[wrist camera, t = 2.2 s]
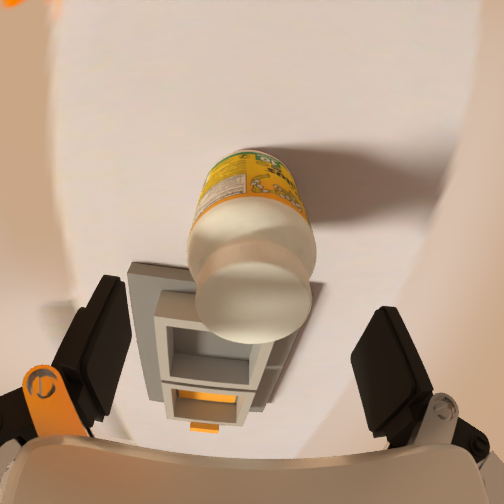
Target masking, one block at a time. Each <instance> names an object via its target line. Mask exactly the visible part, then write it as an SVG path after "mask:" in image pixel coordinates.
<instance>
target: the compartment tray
mask: <svg viewBox="0 0 504 504" xmlns="http://www.w3.org/2000/svg"><path fill="white" fill-rule="evenodd" d="M127 276H128V285H129V293H130V300H131V307H132V314H133V320H134V326H135V332H136V338H137V344H138V349H139V354H140V359H141V364H142V369H143V374H144V378H145V383H146V387H147V392H148V396H149V400H152V401H158V402H164V403H165V410H166V415H167V419H173V420H181V421H188V422H191V424H190V431H198V432H207V433H218V431H219V425H228V426H243V424H244V422H245V419H246V417H247V414H248V412H263V410H264V408H265V406H266V404H267V401H268V399H269V397H270V395H271V393H272V391H273V388H274V386H275V384H276V382H277V380H278V377H279V375H280V373H281V371H282V368H283V366H284V364H285V362H286V359H287V357H288V355H289V352H290V350H291V348H292V345H293V343H294V341H295V338H296V336H297V333H298V331H299V329H300V327H299V328H298V329H297V330H296V331H294V332H293V333H291V334H290V335H288V336H286V337H284V338H282V339H279V340H276V341H272V342H268V343H260V344H244V343H238V342H233V341H229V340H226V339H224V338H221V337H219V336H217V335H216V334H214V333H212V332H211V331H210V330H209V329H208V328H206V326H205V325H204V324H203V323H202V322H201V320H200V318H199V316H198V314H197V311H196V307H195V297H196V290H197V284H196V282H195V281H194V279H193V277H192V275H191V273H190V270H185V269H177V268H170V267H162V266H155V265H148V264H140V263H133V262H132V263H131V265H130V268H129V270H128V272H127ZM310 289H311V285H310ZM311 295H312V296H313V294H312V289H311Z"/></svg>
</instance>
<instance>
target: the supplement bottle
mask: <svg viewBox="0 0 504 504" xmlns="http://www.w3.org/2000/svg"><path fill="white" fill-rule="evenodd" d="M186 252H187V263H188V267H189V270H190V273H191V275H192V277H193V279H194V281H195V282H196V284H197V290H196V297H195V307H196V311H197V314H198V316H199V318H200V320H201V322H202V323H203V324H204V325H205V326H206V328H208V329H209V330H210V331H211V332H212V333H214V334H216V335H217V336H219V337H221V338H224V339H226V340H229V341H233V342H238V343H244V344H260V343H268V342H272V341H276V340H279V339H282V338H284V337H286V336H288V335H290V334H291V333H293V332H294V331H296V330H297V329H298V328H299V327H300V326H301V325H302V324H303V323H304V322H305V321H306V319H307V317H308V316H309V313H310V310H311V307H312V295H311V289H310V284H309V279H310V277H311V275H312V273H313V270H314V267H315V263H316V254H317V253H316V243H315V238H314V235H313V231H312V228H311V226H310V223H309V220H308V217H307V214H306V211H305V209H304V207H303V203H302V201H301V199H300V195H299V193H298V190H297V187H296V185H295V182H294V179H293V177H292V175H291V173H290V171H289V170H288V168H287V167H286V166H285V165H284V164H283V163H282V162H281V161H280V160H278V159H277V158H275V157H273V156H271V155H269V154H266V153H264V152H261V151H256V150H240V151H236V152H233V153H230V154H228V155H226V156H225V157H223V158H222V159H220V160H219V161H218V162H217V163H216V164H215V165H214V166H213V167H212V168H211V170H210V171H209V173H208V175H207V177H206V179H205V182H204V185H203V188H202V191H201V195H200V198H199V202H198V205H197V209H196V212H195V216H194V220H193V223H192V227H191V230H190V234H189V238H188V243H187V251H186Z"/></svg>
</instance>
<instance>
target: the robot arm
mask: <svg viewBox="0 0 504 504" xmlns="http://www.w3.org/2000/svg"><path fill="white" fill-rule="evenodd" d="M131 338H132V331H131V325H130V318H129V311H128V304H127V296H126V288H125V283H124V282H122V281H121V280H120V277H117V276H110V275H103V277H102V278H101V280H100V282H99V284H98V286H97V288H96V289H95V291H94V293H93V295H92V297H91V299H90V301H89V303H88V304H87V306H86V308H85V307H81V308H79V310H78V311H77V313H76V315H75V317H74V319H73V321H72V323H71V325H70V327H69V329H68V331H67V333H66V335H65V337H64V339H63V341H62V343H61V345H60V347H59V349H58V351H57V353H56V356H55V358H54V360H53V362H52V364H51V366H49V365H38V366H35V367H33V368H31V369H30V370H29V371H28V372H27V373H26V375H25V377H24V379H23V384H22V386H23V387H20V388H18V389H16V390H14V391H11V392H9V393H7V394H4V395H3V396H0V482H1V477H2V475H3V474H4V473H5V472H6V471H7V470H8V467H7V466H8V465H9V464H10V463H11V462H12V461H14V463H13V466H12V468H11V471H10V474H9V477H8V480H7V483H6V487H5V492H3V490H2V488H1V483H0V504H504V463H503V462H502V461H501V460H500V459H499V458H498V456H497V455H496V454H495V453H494V452H493V451H491V452H489V449H490V445H489V441H488V438H487V437H486V435H485V434H484V433H482V432H481V431H479V430H478V429H476V428H475V427H473V426H471V425H470V424H469V423H467V422H465V421H464V420H462V419H461V418H459V417H458V414H459V411H458V406H457V404H456V402H455V401H454V399H453V398H452V397H450V396H449V395H447V394H445V393H436V394H435V395H433V393H432V391H433V390H434V389H433V387H432V384H431V382H430V379H429V377H428V374H427V372H426V370H425V367H424V365H423V363H422V361H421V358H420V356H419V354H418V352H417V350H416V347H415V345H414V343H413V341H412V339H411V337H410V334H409V332H408V330H407V328H406V326H405V324H404V322H403V320H402V318H401V316H400V314H399V312H398V310H397V308H396V307H389V306H381V307H380V308H379V310H376V311H375V313H374V315H373V317H372V318H371V320H370V322H369V324H368V326H367V327H366V329H365V331H364V333H363V335H362V336H361V338H360V340H359V342H358V343H357V345H356V347H355V348H354V350H353V352H352V354H351V364H352V367H353V371H354V374H355V378H356V382H357V385H358V389H359V393H360V396H361V400H362V404H363V408H364V412H365V416H366V420H367V424H368V428H369V430H370V431H371V432H373V437H374V438H377V437H384V436H386V437H387V442H386V444H385V446H384V448H383V450H381V451H374V452H367V453H360V454H352V455H343V456H333V457H320V458H304V459H241V458H223V457H210V456H200V455H191V454H183V453H175V452H169V451H162V450H156V449H150V448H144V447H138V446H133V445H128V444H123V443H118V442H114V441H108V440H103V439H98V438H95V436H94V434H93V432H92V430H91V427H92V426H93V424H94V420H96V421H99V422H103V419H104V415H105V416H108V415H109V414H110V410H111V407H112V403H113V399H114V396H115V392H116V389H117V385H118V382H119V378H120V375H121V371H122V368H123V365H124V362H125V358H126V355H127V352H128V349H129V346H130V342H131Z"/></svg>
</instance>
